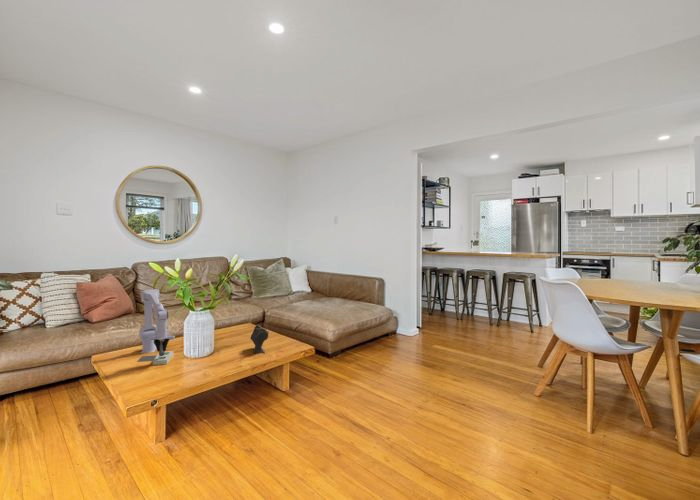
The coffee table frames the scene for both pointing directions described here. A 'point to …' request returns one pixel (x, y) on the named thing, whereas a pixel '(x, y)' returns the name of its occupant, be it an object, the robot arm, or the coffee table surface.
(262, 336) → the dark grey faceted sculpture
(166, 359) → the socket block
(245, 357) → the coffee table surface
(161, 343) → the steel peg
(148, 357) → the rubber mat
